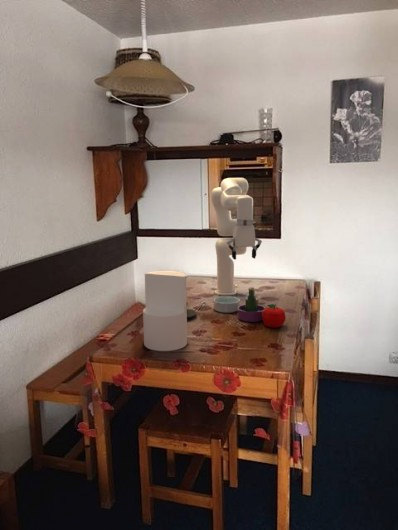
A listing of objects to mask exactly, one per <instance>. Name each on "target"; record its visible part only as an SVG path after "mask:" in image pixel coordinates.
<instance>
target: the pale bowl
mask: <svg viewBox="0 0 398 530" xmlns="http://www.w3.org/2000/svg"><path fill="white" fill-rule="evenodd" d="M239 306H241V299H240V298H238V297H235V296H218V297H215V298H214V299H213V310H215V311H217V312H219V313H223V314H225V313H226V314H228V313H229V314H231V313H235V312H238V307H239Z"/></svg>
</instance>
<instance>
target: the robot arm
mask: <svg viewBox="0 0 398 530" xmlns="http://www.w3.org/2000/svg"><path fill="white" fill-rule="evenodd" d="M248 190H249V183H248V180H247V179H246V178H244V177H227V178H224V179H222V181H221V183H220V187H215V188H213V189H212V191H211V202H212V206H213V208H214V211H215V220H216V231H217V234H218V235H219V236H220V237H221V236H222V237H223V238H219V239H217V240H216V241H215V244H214V246H215V254H216V289H215V290H214V294H215V295H216V296H221V297H231V296H234V295H236V294H237V293H238V292H237V290H236V288H239V284H238V283H236V284H235V260H237V256H240V255H244V254H246V253H247V249H248V248H250V247H251V248H252V249H251V258H252V259H256V257H257V250H258V249H259V248H260V247H261V244H262V242H263V241H262V240H261V239H260V238H258V237H256V231H255V225H254V224H255V223H256V219H254V199H253V197H252V196H250V195H248V194H247V193H248ZM232 212H236V218H232ZM224 237H225V238H224ZM256 242H257V243H256ZM230 256H231V257H230Z"/></svg>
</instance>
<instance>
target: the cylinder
mask: <svg viewBox="0 0 398 530" xmlns="http://www.w3.org/2000/svg"><path fill="white" fill-rule="evenodd" d="M144 294H145V298H144V299H145V307H144V308H143V310H142V320H143V321H142V322H143V345H144V347H145V348H147V349H149V350H151V351H156V352H170V351H176V350H181V349H183V348H184V347H186V346H187V345H188V318H187V309H188V307H187V306H188V305H187V303H188V302H187V274H186V272H184V271H178V270H154V271H149V272H148V271H147V272H144Z"/></svg>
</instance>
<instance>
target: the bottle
mask: <svg viewBox="0 0 398 530" xmlns="http://www.w3.org/2000/svg"><path fill="white" fill-rule="evenodd" d="M244 305H245V311H247V312H258V305H259V297H257V295H256V288H255V287H253V286H252V287H248V294H247V295H246V297H245V298H244Z"/></svg>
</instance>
